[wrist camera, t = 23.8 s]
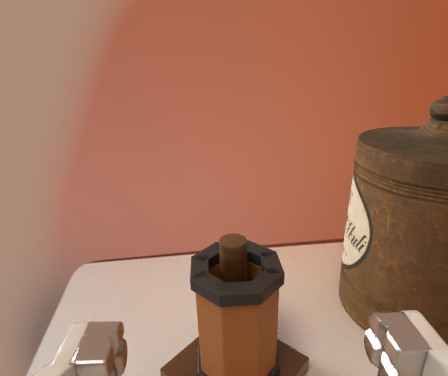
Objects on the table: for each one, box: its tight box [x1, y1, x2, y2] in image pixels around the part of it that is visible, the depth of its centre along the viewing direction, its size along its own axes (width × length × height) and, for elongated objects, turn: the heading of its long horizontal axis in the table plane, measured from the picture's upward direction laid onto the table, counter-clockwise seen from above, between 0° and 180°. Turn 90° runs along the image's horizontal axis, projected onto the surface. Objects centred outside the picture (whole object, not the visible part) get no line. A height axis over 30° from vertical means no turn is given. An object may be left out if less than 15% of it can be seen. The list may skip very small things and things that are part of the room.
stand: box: [160, 234, 309, 376], centre depth 26 cm, size 9×9×14 cm
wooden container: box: [339, 96, 448, 345], centre depth 32 cm, size 15×15×22 cm
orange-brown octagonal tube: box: [190, 241, 284, 376], centre depth 26 cm, size 7×7×10 cm
